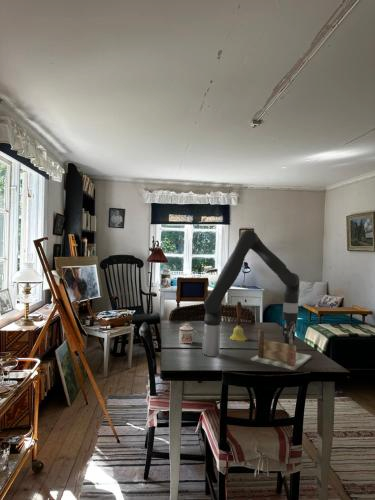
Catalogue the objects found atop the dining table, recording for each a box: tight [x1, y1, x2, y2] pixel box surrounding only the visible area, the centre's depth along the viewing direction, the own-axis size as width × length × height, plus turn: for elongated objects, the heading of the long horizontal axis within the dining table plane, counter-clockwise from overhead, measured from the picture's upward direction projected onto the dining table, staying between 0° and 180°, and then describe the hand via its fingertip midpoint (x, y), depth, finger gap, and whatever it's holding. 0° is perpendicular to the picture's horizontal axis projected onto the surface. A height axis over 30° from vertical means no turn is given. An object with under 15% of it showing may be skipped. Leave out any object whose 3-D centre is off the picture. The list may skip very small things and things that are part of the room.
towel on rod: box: [250, 328, 312, 371], centre depth 193 cm, size 24×28×16 cm
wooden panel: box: [263, 333, 297, 363], centre depth 186 cm, size 17×2×15 cm, turn 56°
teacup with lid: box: [178, 323, 199, 344], centre depth 222 cm, size 12×9×12 cm
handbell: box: [229, 301, 248, 342], centre depth 234 cm, size 12×12×25 cm
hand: (289, 342), depth 182 cm, fingers open, 8 cm apart
